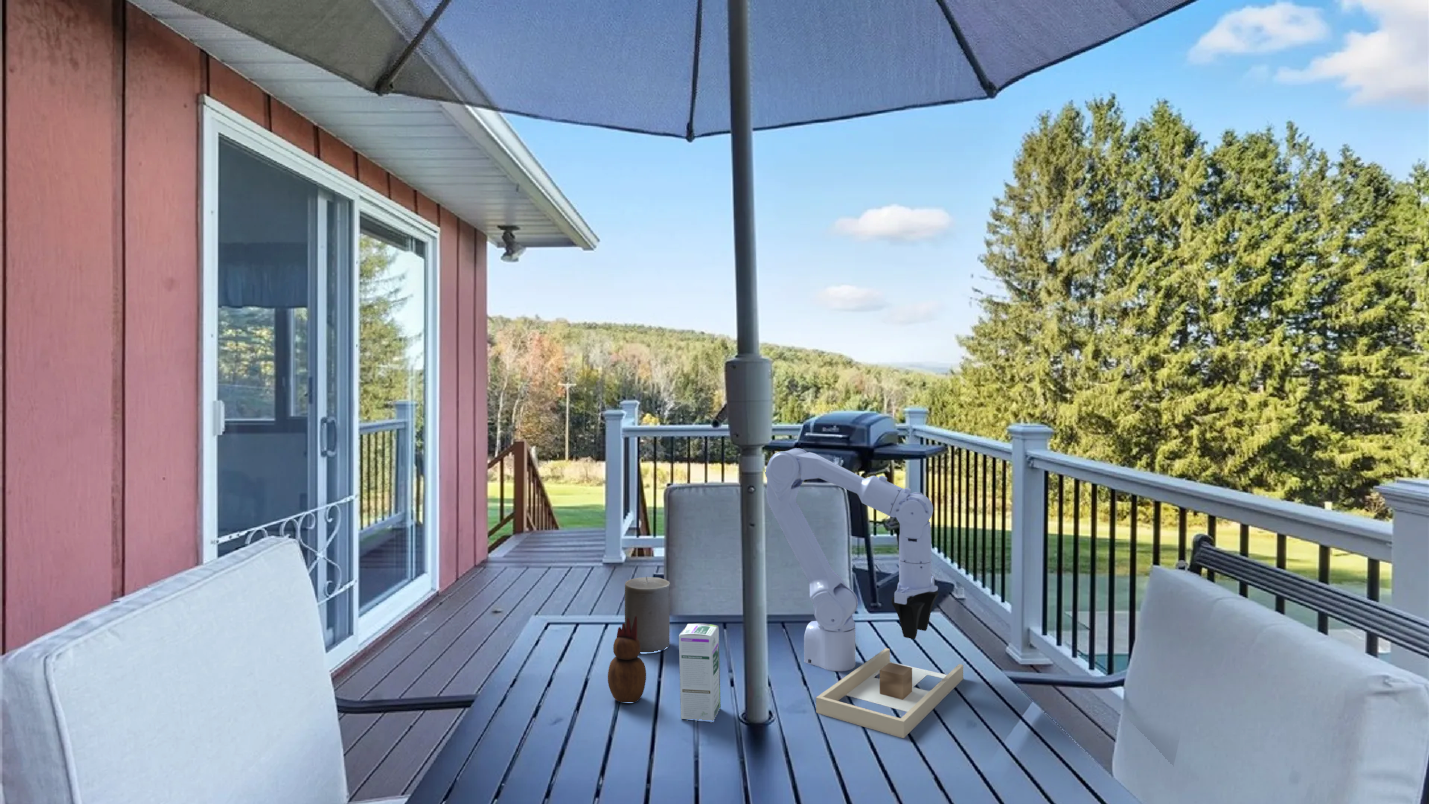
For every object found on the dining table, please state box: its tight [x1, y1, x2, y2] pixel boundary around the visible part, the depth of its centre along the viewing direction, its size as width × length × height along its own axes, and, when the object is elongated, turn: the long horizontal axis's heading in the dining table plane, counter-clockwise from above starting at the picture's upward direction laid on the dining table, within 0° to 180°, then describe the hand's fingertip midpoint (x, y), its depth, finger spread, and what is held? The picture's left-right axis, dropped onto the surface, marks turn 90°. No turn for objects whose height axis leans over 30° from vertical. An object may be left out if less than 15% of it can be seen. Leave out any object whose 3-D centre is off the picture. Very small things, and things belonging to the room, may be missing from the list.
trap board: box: [815, 647, 964, 739], centre depth 126 cm, size 15×28×4 cm, turn 143°
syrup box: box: [678, 623, 721, 721], centre depth 122 cm, size 6×6×14 cm
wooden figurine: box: [607, 616, 647, 703], centre depth 128 cm, size 7×6×15 cm
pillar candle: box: [624, 576, 671, 652], centre depth 155 cm, size 10×10×15 cm
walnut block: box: [879, 662, 912, 700], centre depth 127 cm, size 4×4×4 cm
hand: (915, 633), depth 134 cm, fingers open, 5 cm apart
